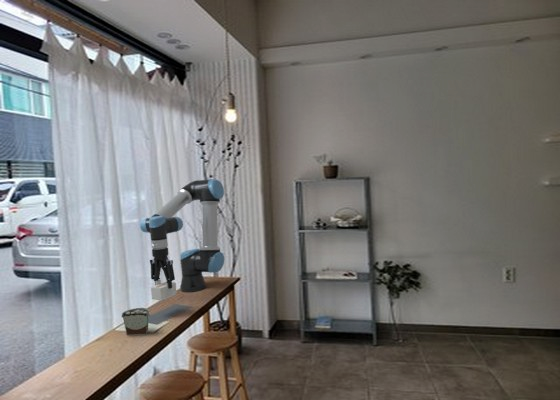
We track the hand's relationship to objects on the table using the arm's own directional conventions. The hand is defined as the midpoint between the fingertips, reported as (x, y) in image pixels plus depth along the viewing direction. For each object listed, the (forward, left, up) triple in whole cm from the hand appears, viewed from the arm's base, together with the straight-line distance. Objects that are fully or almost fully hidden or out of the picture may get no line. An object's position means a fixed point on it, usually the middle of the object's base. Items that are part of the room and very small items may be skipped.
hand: (164, 294), depth 192 cm
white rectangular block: (0, 0, -1) cm, 1 cm away
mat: (0, 0, -10) cm, 10 cm away
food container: (+20, +4, -11) cm, 23 cm away
